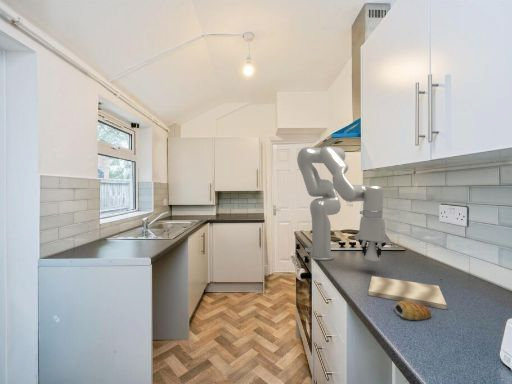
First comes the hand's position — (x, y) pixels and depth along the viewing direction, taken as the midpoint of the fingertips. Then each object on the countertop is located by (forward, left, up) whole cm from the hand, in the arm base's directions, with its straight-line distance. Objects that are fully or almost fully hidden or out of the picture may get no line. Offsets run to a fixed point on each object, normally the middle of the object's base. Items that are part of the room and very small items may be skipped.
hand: (371, 255), depth 109 cm
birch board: (+12, -16, -8) cm, 22 cm away
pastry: (+13, -33, -8) cm, 36 cm away
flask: (0, 0, -2) cm, 2 cm away
